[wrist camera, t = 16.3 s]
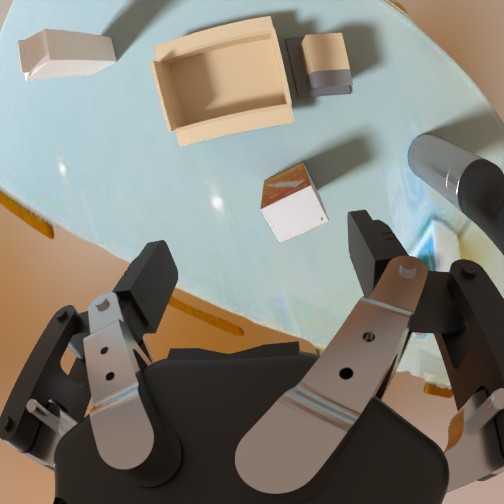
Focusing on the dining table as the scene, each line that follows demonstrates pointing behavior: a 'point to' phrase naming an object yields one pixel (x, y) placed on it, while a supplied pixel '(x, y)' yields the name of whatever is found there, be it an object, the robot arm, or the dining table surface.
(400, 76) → the dining table surface
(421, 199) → the dining table surface
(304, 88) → the slate mat
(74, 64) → the milk
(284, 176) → the small box
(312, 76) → the block
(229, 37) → the carton
